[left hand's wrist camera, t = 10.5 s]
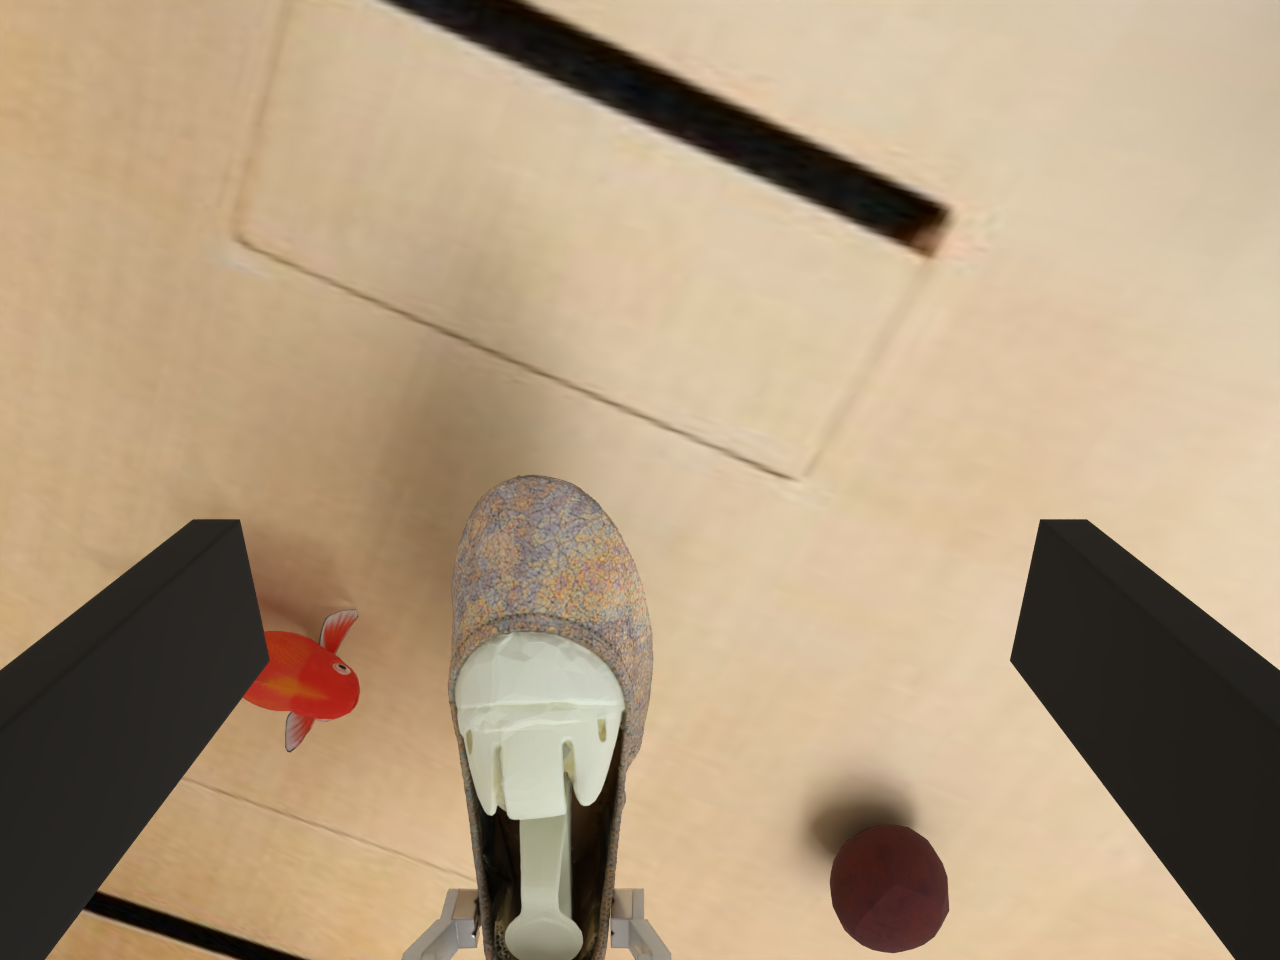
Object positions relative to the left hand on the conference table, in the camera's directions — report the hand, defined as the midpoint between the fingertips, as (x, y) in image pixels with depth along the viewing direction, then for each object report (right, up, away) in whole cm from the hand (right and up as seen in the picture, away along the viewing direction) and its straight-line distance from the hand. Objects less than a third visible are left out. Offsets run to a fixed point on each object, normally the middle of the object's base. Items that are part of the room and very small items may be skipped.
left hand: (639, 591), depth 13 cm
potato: (+16, -23, +40) cm, 49 cm away
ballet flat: (-4, -9, +22) cm, 24 cm away
